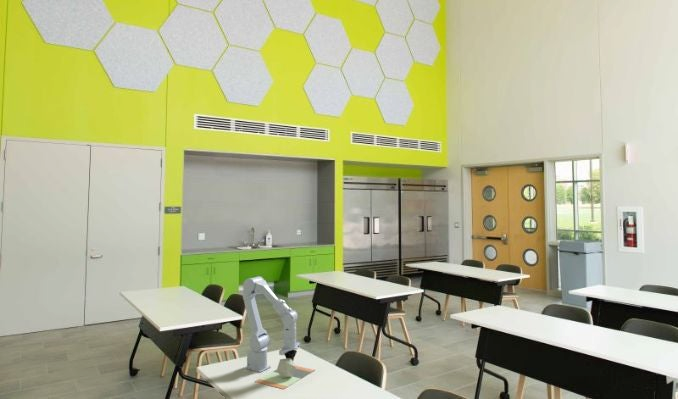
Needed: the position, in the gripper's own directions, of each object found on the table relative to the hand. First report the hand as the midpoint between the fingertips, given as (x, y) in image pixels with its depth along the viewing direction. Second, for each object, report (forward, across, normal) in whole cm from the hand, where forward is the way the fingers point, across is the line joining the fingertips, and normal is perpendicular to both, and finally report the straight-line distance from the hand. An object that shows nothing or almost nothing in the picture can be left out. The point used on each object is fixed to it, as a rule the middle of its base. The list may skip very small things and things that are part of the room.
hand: (289, 366), depth 194 cm
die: (+3, -4, -1) cm, 5 cm away
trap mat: (+4, -3, 0) cm, 5 cm away
